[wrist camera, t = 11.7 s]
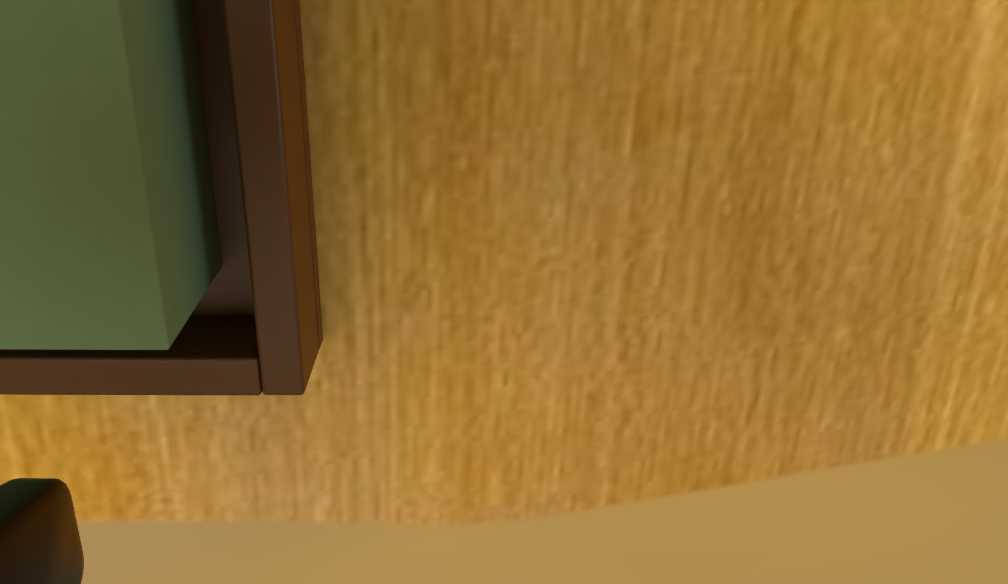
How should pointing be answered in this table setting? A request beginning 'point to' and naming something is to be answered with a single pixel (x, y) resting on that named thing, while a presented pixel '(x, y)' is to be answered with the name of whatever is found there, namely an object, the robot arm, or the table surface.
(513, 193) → the table surface
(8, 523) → the robot arm
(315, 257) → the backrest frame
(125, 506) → the table surface
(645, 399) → the table surface
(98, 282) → the green block
